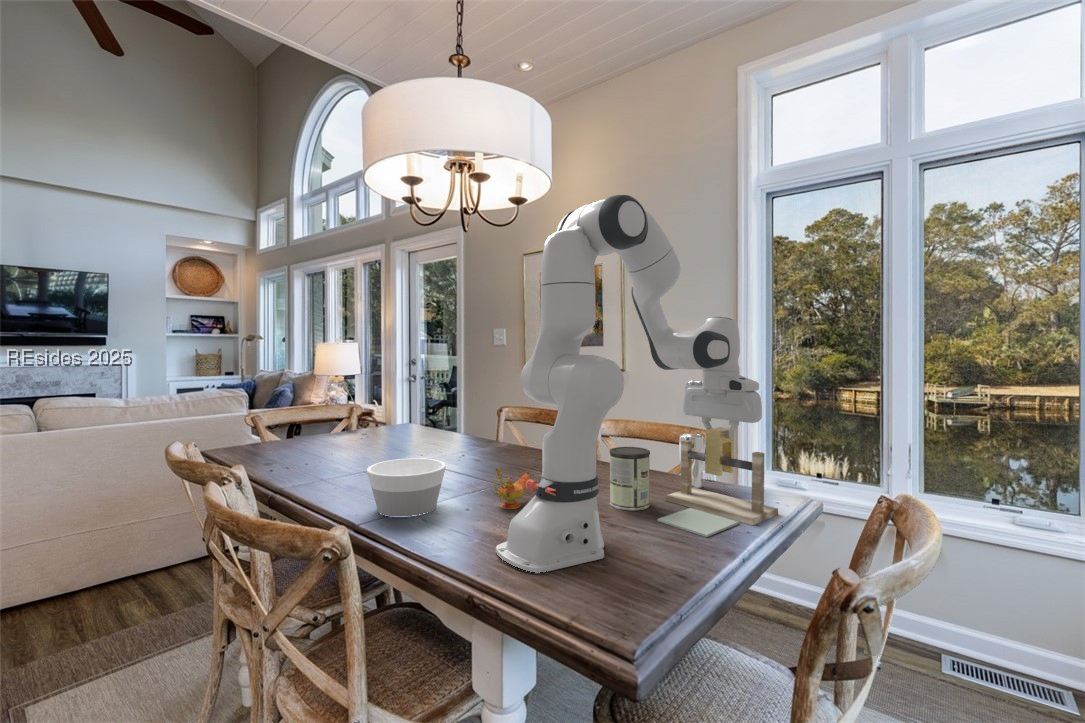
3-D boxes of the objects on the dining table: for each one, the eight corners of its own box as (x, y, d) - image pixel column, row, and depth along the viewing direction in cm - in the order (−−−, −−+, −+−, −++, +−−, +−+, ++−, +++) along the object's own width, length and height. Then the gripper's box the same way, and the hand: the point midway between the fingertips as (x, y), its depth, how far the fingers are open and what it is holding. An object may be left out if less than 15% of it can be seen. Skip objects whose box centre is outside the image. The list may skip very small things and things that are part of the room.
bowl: (385, 527, 113) (384, 480, 112) (355, 507, 127) (355, 465, 127) (460, 510, 125) (460, 467, 125) (425, 493, 140) (424, 454, 139)
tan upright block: (719, 476, 123) (720, 431, 123) (705, 472, 126) (705, 429, 126) (733, 472, 127) (734, 429, 127) (719, 469, 130) (719, 427, 130)
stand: (752, 525, 114) (753, 457, 114) (666, 500, 133) (666, 442, 132) (778, 514, 122) (778, 450, 121) (692, 492, 140) (693, 437, 140)
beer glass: (700, 483, 150) (701, 433, 149) (705, 490, 143) (706, 437, 142) (676, 483, 150) (677, 433, 150) (680, 489, 143) (681, 437, 143)
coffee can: (615, 496, 136) (616, 445, 136) (653, 501, 132) (654, 448, 132) (604, 507, 127) (604, 452, 127) (644, 513, 123) (644, 455, 122)
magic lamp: (542, 497, 136) (542, 456, 136) (506, 516, 120) (506, 470, 120) (520, 493, 139) (520, 454, 139) (483, 511, 123) (483, 467, 123)
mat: (706, 537, 107) (706, 534, 107) (657, 521, 117) (657, 518, 117) (739, 523, 115) (739, 521, 115) (690, 509, 125) (690, 507, 125)
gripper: (678, 380, 132) (677, 432, 133) (752, 384, 117) (751, 443, 117) (692, 379, 136) (691, 430, 137) (765, 383, 121) (764, 441, 121)
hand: (719, 436), depth 127 cm, fingers closed on tan upright block, 4 cm apart
